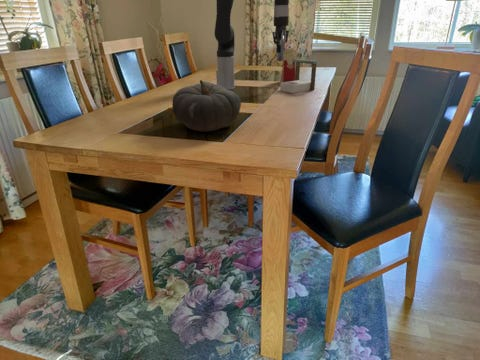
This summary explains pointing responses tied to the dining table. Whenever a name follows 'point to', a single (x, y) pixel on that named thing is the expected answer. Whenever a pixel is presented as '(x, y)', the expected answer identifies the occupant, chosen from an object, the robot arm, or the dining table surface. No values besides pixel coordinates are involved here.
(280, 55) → the peg
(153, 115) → the dining table surface
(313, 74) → the grey arch
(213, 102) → the gourd
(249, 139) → the dining table surface
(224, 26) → the robot arm
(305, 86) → the socket block
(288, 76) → the milk carton
